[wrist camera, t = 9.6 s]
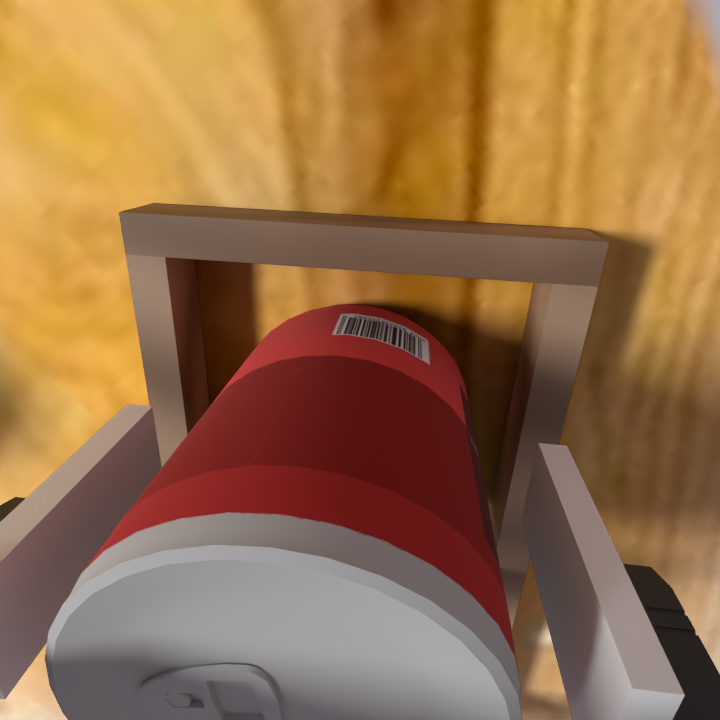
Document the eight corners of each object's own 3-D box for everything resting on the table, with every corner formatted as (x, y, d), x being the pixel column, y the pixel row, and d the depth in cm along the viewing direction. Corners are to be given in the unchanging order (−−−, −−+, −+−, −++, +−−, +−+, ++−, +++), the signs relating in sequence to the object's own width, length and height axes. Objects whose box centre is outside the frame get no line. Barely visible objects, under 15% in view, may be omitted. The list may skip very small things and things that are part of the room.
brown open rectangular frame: (153, 203, 16) (-130, 277, 8) (586, 228, 15) (793, 347, 7) (212, 659, 25) (114, 910, 17) (478, 696, 24) (509, 982, 16)
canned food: (209, 343, 18) (-60, 612, 8) (419, 258, 16) (418, 475, 6) (304, 503, 20) (194, 859, 10) (495, 449, 18) (585, 828, 8)
